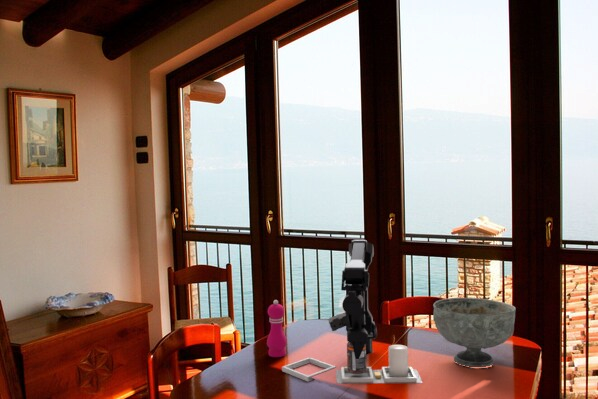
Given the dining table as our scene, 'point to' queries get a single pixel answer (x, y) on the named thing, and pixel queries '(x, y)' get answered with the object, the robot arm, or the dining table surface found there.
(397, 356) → the white peg
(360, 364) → the supplement bottle
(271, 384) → the dining table surface
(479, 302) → the decorative bowl
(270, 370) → the dining table surface
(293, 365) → the white square frame
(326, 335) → the dining table surface
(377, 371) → the gray rectangular frame
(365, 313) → the robot arm
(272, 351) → the pepper mill
